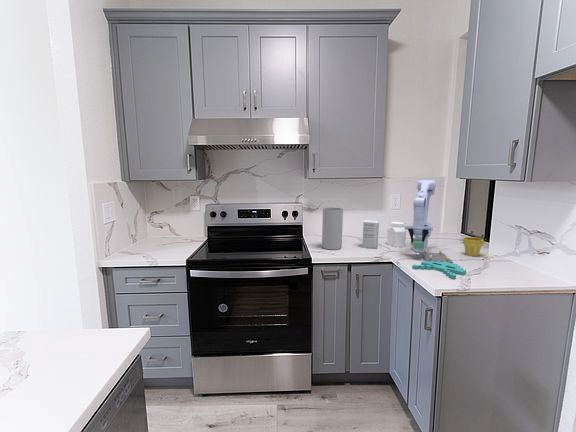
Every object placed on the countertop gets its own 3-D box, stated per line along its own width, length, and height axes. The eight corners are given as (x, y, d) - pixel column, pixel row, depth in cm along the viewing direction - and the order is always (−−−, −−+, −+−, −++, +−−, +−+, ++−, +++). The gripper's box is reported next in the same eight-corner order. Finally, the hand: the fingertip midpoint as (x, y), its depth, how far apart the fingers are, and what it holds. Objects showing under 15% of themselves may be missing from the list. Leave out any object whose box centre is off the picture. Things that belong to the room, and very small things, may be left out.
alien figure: (453, 280, 138) (471, 271, 151) (454, 275, 138) (471, 267, 151) (412, 269, 154) (431, 262, 166) (412, 265, 154) (431, 258, 166)
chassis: (420, 253, 182) (420, 247, 182) (443, 255, 179) (444, 249, 179) (426, 262, 165) (427, 255, 164) (452, 263, 162) (453, 257, 162)
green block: (410, 244, 179) (411, 238, 178) (419, 244, 178) (420, 238, 177) (413, 248, 168) (414, 242, 168) (423, 249, 167) (423, 242, 167)
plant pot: (458, 254, 181) (460, 238, 180) (465, 251, 188) (467, 236, 187) (478, 258, 174) (480, 241, 172) (484, 255, 180) (486, 238, 179)
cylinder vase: (339, 250, 187) (341, 210, 183) (319, 249, 191) (320, 209, 187) (343, 246, 199) (344, 208, 195) (324, 244, 203) (325, 207, 199)
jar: (408, 246, 200) (409, 223, 198) (397, 247, 196) (398, 224, 194) (395, 242, 210) (396, 221, 208) (384, 243, 206) (385, 221, 204)
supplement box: (363, 244, 204) (364, 219, 202) (377, 245, 201) (379, 220, 199) (362, 247, 195) (363, 221, 193) (377, 249, 192) (378, 222, 190)
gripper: (406, 219, 169) (404, 243, 171) (434, 220, 165) (432, 245, 167) (404, 217, 175) (403, 240, 177) (431, 218, 172) (429, 242, 174)
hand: (417, 242), depth 173 cm, fingers closed on green block, 5 cm apart
